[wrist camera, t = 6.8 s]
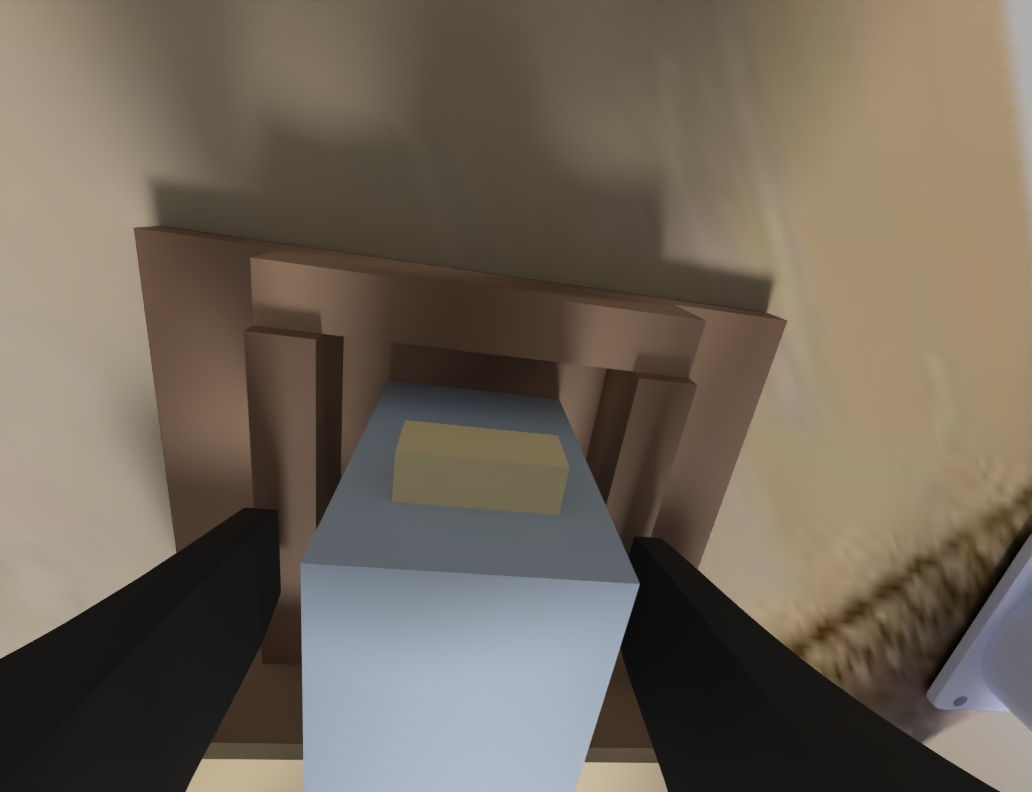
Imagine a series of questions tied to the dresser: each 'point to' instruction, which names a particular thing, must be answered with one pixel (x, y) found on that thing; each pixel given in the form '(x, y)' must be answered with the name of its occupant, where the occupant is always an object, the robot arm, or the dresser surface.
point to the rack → (434, 361)
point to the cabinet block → (460, 601)
